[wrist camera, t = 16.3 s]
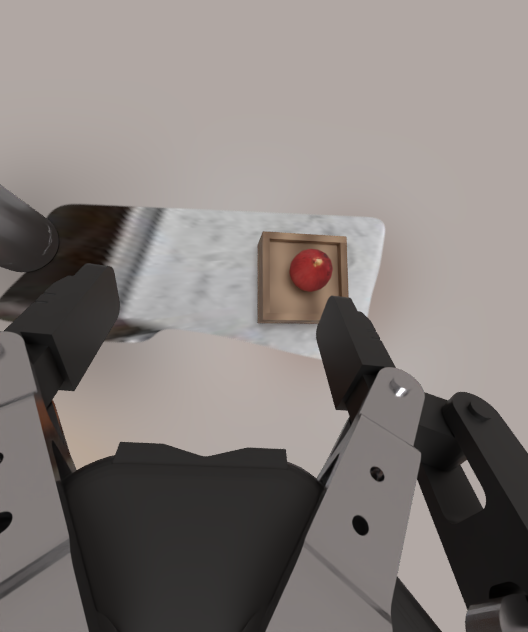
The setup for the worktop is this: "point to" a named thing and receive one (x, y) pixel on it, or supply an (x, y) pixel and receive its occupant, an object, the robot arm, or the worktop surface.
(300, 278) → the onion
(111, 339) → the worktop surface
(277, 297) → the brown wooden box
